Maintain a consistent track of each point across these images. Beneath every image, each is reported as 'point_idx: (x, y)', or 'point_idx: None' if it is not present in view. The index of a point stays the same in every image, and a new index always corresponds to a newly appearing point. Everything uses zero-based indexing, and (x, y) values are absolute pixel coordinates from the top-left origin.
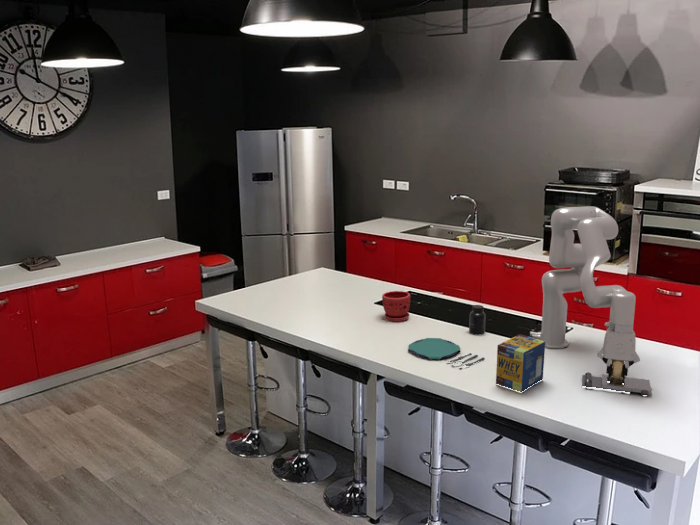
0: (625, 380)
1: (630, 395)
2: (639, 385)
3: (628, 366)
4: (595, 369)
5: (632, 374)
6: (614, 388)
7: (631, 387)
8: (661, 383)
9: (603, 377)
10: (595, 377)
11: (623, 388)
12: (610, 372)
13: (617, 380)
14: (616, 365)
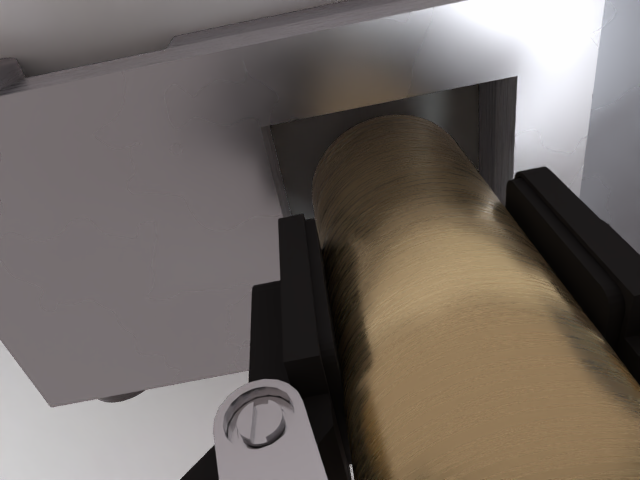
0: None
1: (159, 9)
2: (79, 224)
3: (232, 436)
4: None
5: None
6: (395, 4)
7: (151, 96)
8: (9, 441)
9: None
10: None
11: (264, 35)
12: (556, 218)
13: (384, 158)
14: (540, 347)
